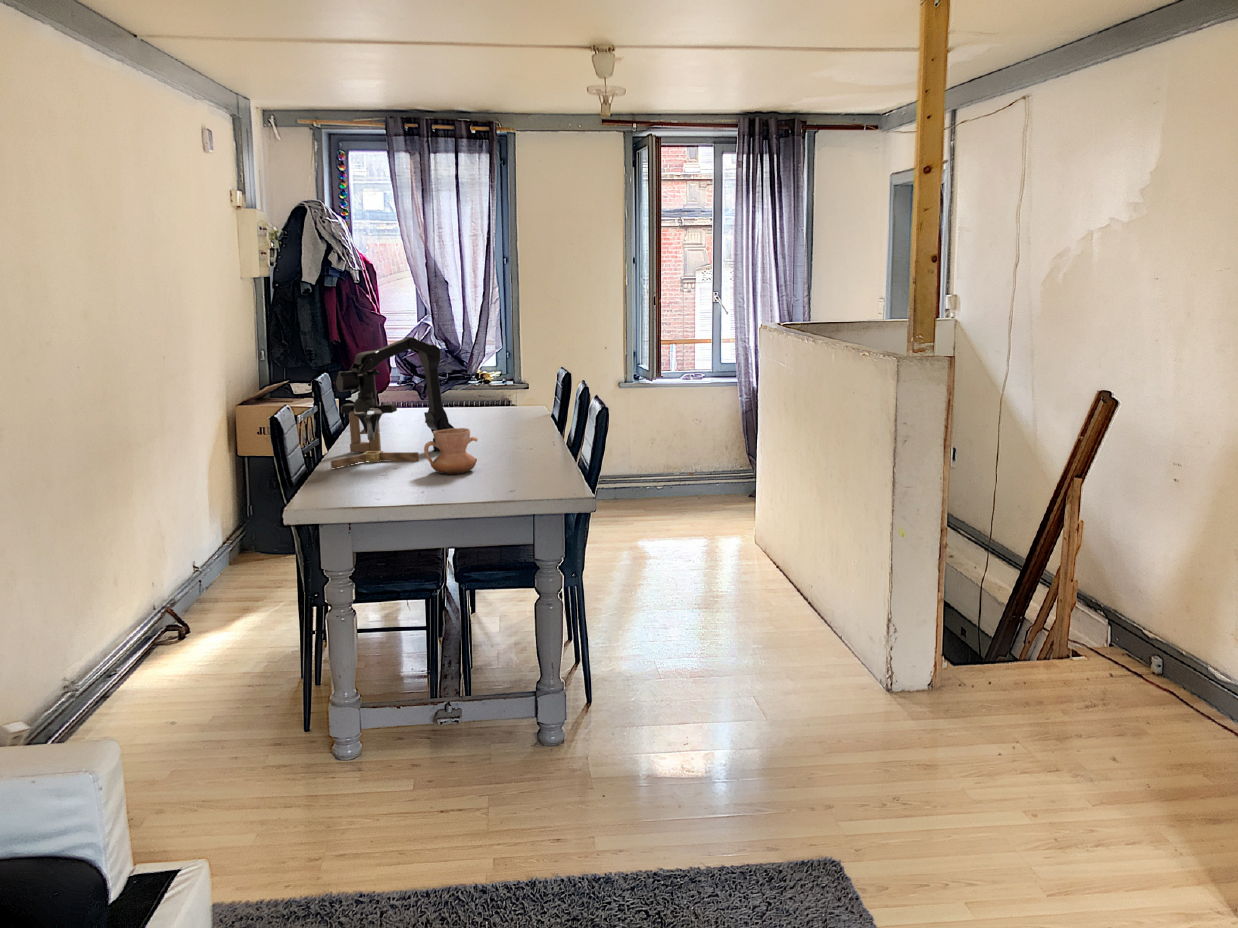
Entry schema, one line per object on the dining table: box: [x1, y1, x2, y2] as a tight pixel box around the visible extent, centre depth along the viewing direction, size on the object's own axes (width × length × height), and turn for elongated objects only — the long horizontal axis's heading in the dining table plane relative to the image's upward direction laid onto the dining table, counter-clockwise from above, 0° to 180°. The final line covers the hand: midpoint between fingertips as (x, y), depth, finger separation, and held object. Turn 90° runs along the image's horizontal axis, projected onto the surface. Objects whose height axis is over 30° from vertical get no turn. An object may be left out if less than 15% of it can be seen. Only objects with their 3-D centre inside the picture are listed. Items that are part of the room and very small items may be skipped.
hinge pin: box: [365, 413, 375, 441], centre depth 362 cm, size 3×3×9 cm
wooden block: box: [348, 411, 382, 453], centre depth 381 cm, size 4×11×18 cm, turn 92°
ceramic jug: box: [423, 427, 479, 475], centre depth 340 cm, size 18×14×14 cm
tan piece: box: [330, 450, 420, 468], centre depth 358 cm, size 26×18×3 cm
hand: (370, 432), depth 363 cm, fingers closed on hinge pin, 2 cm apart
